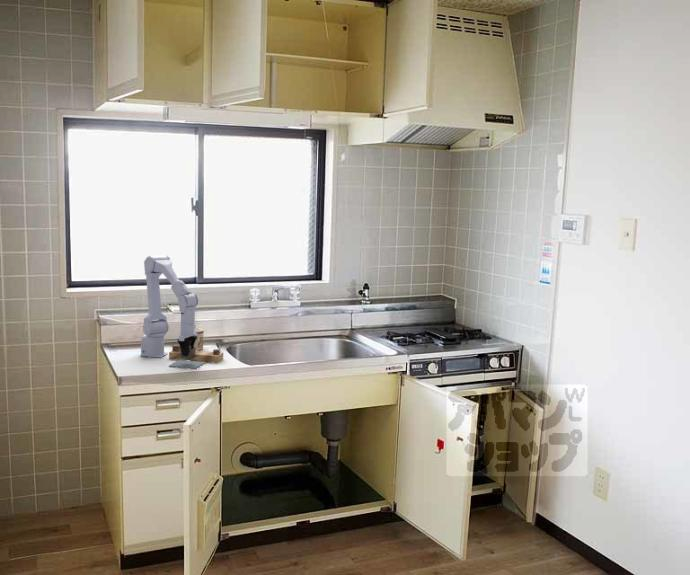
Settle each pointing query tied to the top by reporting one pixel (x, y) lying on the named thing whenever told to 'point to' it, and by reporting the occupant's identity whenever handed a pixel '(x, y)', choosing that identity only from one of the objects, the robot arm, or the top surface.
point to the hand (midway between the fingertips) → (187, 354)
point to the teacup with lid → (199, 338)
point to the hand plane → (198, 355)
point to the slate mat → (187, 364)
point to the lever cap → (191, 353)
